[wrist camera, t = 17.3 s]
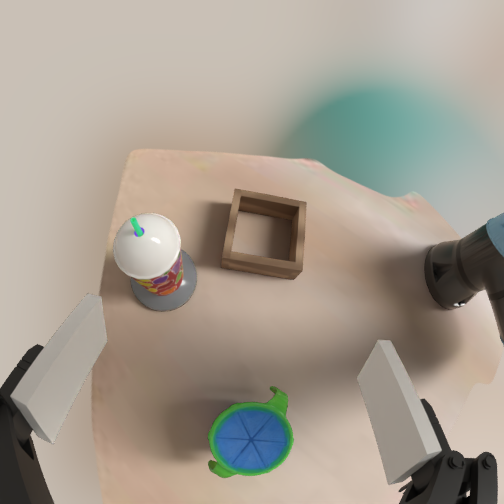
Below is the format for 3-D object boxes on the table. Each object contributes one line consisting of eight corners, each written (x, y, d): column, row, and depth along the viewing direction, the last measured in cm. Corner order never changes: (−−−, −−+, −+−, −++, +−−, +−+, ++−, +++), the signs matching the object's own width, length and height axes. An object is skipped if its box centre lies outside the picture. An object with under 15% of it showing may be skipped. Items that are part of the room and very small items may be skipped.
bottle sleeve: (232, 203, 52) (234, 188, 48) (298, 215, 53) (306, 202, 49) (220, 267, 48) (222, 257, 43) (293, 279, 49) (302, 270, 44)
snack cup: (252, 368, 43) (264, 371, 33) (300, 409, 41) (323, 420, 32) (184, 434, 37) (177, 454, 28) (234, 474, 36) (240, 500, 26)
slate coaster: (168, 234, 49) (167, 232, 48) (210, 281, 47) (210, 279, 46) (119, 275, 45) (118, 273, 44) (160, 325, 43) (158, 324, 42)
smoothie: (148, 246, 46) (115, 177, 28) (195, 260, 47) (186, 194, 28) (132, 293, 43) (82, 247, 25) (180, 309, 44) (156, 271, 25)
